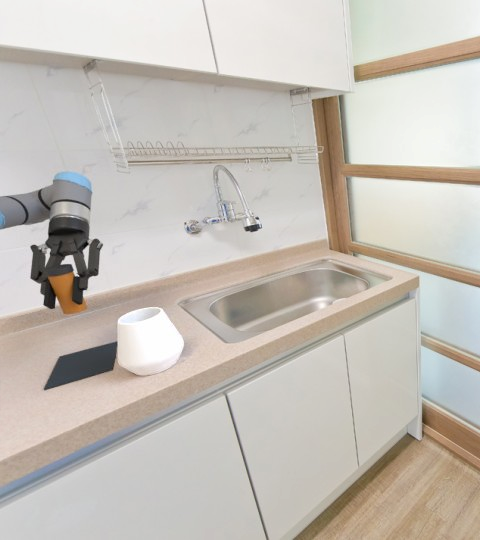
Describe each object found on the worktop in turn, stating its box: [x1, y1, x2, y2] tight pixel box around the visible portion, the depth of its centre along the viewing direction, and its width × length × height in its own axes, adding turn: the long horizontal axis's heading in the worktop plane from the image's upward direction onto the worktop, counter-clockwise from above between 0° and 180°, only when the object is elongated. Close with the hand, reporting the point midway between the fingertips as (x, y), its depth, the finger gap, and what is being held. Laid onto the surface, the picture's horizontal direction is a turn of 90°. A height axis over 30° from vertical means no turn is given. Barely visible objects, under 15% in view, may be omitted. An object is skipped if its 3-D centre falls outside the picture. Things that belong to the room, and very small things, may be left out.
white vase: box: [116, 306, 185, 377], centre depth 81 cm, size 13×13×14 cm
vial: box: [44, 263, 88, 315], centre depth 80 cm, size 5×5×12 cm
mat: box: [43, 340, 118, 391], centre depth 84 cm, size 16×12×1 cm
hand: (63, 304), depth 78 cm, fingers closed on vial, 4 cm apart
